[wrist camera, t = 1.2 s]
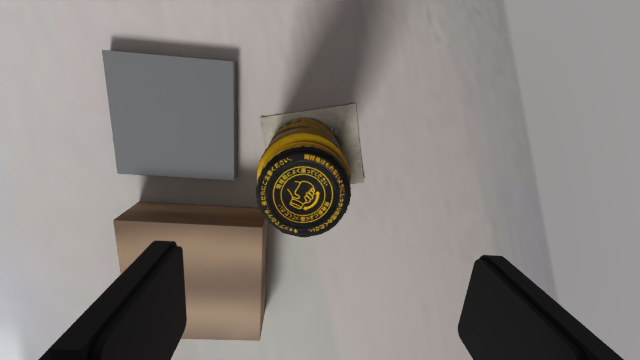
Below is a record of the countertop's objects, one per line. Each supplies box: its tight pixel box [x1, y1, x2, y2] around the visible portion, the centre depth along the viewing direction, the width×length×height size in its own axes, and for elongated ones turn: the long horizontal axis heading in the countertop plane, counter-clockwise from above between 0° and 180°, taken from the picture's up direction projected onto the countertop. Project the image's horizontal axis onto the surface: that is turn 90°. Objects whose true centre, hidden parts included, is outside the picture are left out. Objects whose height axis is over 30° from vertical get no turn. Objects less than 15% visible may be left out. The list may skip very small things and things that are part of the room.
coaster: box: [102, 50, 236, 181], centre depth 26 cm, size 10×10×1 cm
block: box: [113, 202, 268, 341], centre depth 29 cm, size 12×12×4 cm
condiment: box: [256, 103, 364, 237], centre depth 22 cm, size 7×8×12 cm
